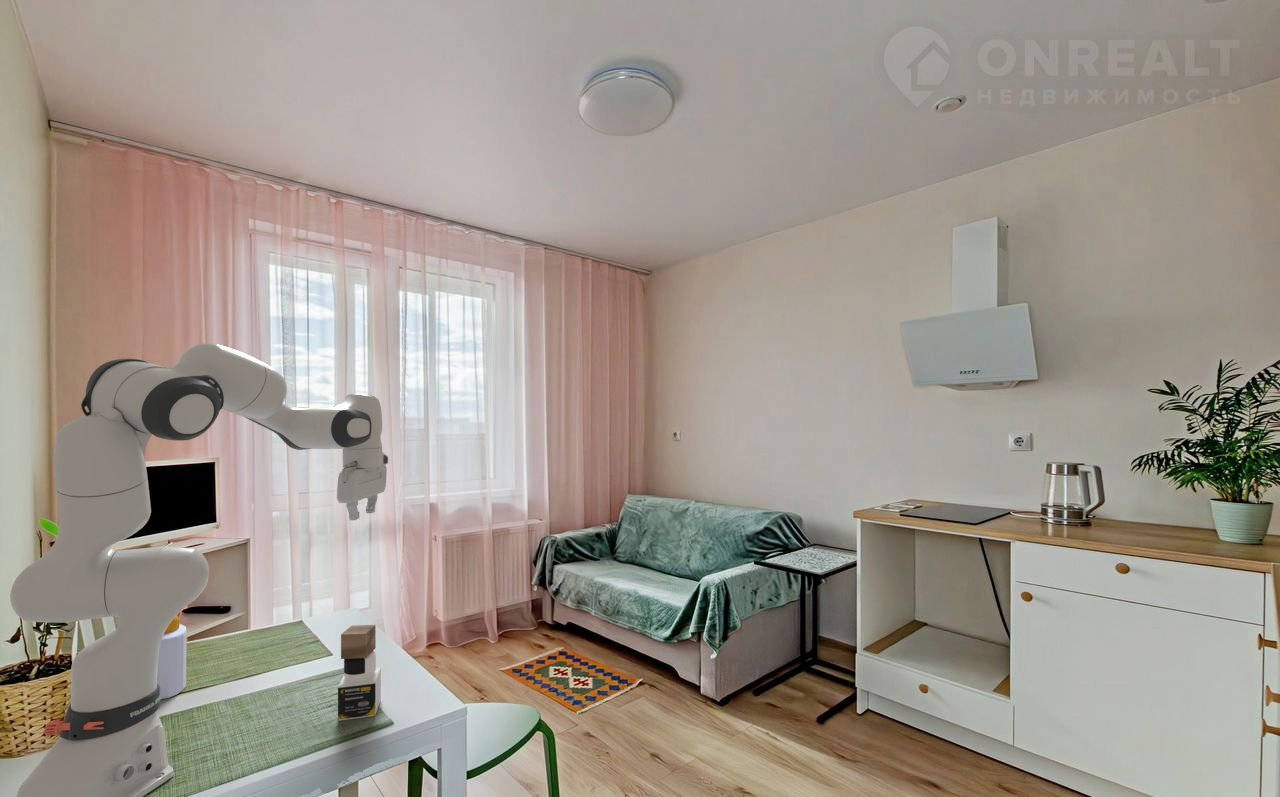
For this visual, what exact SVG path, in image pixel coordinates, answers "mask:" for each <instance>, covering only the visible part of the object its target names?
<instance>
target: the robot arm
mask: <svg viewBox="0 0 1280 797" xmlns="http://www.w3.org/2000/svg"><path fill="white" fill-rule="evenodd" d="M178 360H179V361H178V363H177V364H175V365H173V366H171V367H167V366H163V365H159V364H154V363H150V362H148V361H146V360H142V359H136V358H119V359H113V360H109V361H107V362H105V363H102V364H101V365H100V366H98V367H97V368H95V370H94V371H93V372H92V374H91V375H90V377H89V379H88V380H87V383H86V386H85V394H84V395H85V396H84V397H83V399H82V401H81V404H80V406H81V410H82V412H83V414H84V415H85V416H81V417H78V418H75V419H73V420H71V421H69V422H67V423H66V424H64V425H63V426H62V427H61V428H60V429H59V431H58V432H57V434H56V439H55V444H54V445H55V446H54V455H53V457H54V458H53V474H54V484H55V491H56V497H57V498H56V499H57V506H58V507H57V508H58V520H59V522H58V533H57V536H56V539H55V541H54V543H53V544H52V546H51V547H50V549H49V550H48V551H47V552H46V553H45V554H44V555H43V556H41V557H40V558H38V559H37V560H35V561H33V562H32V563H30V564H29V565H27V566H26V567H25V568H24V569H23V570H22V571H21V572H20V573H19V574H18V576H17V577H16V578H15V580H14V581H13V584H12V586H11V590H10V594H9V596H10V597H9V598H10V605H11V608H12V610H13V611H14V613H15V614H16V615H17V616H18V617H19V618H20V619H22V620H23V621H25V622H29V623H30V622H32V623H33V622H34V623H61V624H62V623H71V622H77V621H87V620H94V619H102V618H103V619H104V618H110V617H111V618H112V617H115V618H118V620H117V621H118V624H117V628H116V629H115V630H113V631H111V632H110V633H107V634H106V635H103V636H102V637H99V638H98V639H96V640H94V641H93V642H91V643H89V644H88V645H86V646H84V647H83V648H82V649H81V650H80V651H78V653H77V655H76V656H75V657H74V659H73V662H72V664H71V667H70V668H71V669H70V670H71V671H70V673H71V674H70V704H69V706H68V707H67V709H66V712H65V715H64V718H63V720H51V721H49V722H47V724H46V725H45V727H44V730H43V732H44V735H46V736H52V735H59V738H58V739H57V740H56V742H55V743H54V744H52V747H51V748H50V749H49V750H48V752H47V753H46V754H45V755H44V756H43V757H42V759H41V760H40V762H39V763H38V764H37V765H36V766H35V768H34V769H33V770H32V771H31V773H30V774H29V775H28V776H27V777H26V778H25V780H24V781H23V782H22V784H20V787H18V790H17V793H16V795H15V797H144V796H146V795H147V794H148V793H150V792H152V791H153V790H155V789H156V788H158V787H159V786H161V785H162V784H164V783H166V782H167V781H168V780H170V779H171V778H173V776H174V774H175V772H174V768H173V767H172V766H171V765H169V760H168V752H167V751H168V750H167V740H166V735H165V734H166V733H165V728H164V726H163V722H162V721H161V718H160V716H159V711H158V710H159V709H160V708H161V700H160V698H161V693H160V686H159V684H157V668H158V657H159V649H160V644H161V640H162V637H163V635H164V633H165V631H166V629H167V627H168V626H169V624H170V623H171V621H172V620H173V619H174V618H175V616H176V615H177V616H178V614H179V613H181V611H183V609H185V608H186V607H187V606H188V605H190V604H191V603H193V602H194V601H195V600H196V599H198V598H199V596H200V595H201V594H202V593H203V591H204V590H205V588H206V586H207V584H208V581H209V578H210V566H209V562H208V560H207V559H206V557H205V555H204V554H203V553H202V552H201V551H200V550H198V549H197V548H194V547H193V548H192V547H183V546H153V547H144V548H143V547H142V548H133V549H121V550H120V549H114V548H113V547H112V545H114V544H116V543H118V542H119V543H120V542H121V541H124V540H126V539H128V538H129V537H131V536H133V535H134V534H136V533H138V531H139V530H141V529H143V527H144V526H146V524H147V523H148V522H149V520H150V517H151V513H152V507H151V498H150V497H151V496H150V489H149V488H150V487H149V480H148V472H147V464H146V459H145V455H146V449H147V445H148V443H149V441H150V439H151V437H152V436H155V437H157V438H159V439H163V440H168V441H169V440H170V441H178V442H179V441H181V442H182V441H189V440H193V439H195V438H198V437H200V436H201V435H203V434H205V432H207V431H208V430H209V429H210V428H211V427H212V426H213V425H214V423H215V422H216V420H217V418H218V416H219V415H220V414H219V413H220V411H221V410H224V411H227V412H229V413H233V414H235V415H238V416H240V417H243V418H245V419H247V420H248V421H251V422H253V423H256V424H257V425H259V426H262V427H263V428H266V429H268V431H272V432H273V433H274V434H276V435H277V436H278V437H279V438H280V439H281V440H282V441H283V442H284V443H285V444H286V445H287V446H288V447H289V448H291V449H293V450H297V451H302V450H314V449H315V450H316V449H318V450H323V449H324V450H331V449H333V450H334V449H337V450H339V449H341V450H342V470H341V471H340V472H339V473H338V478H337V479H338V480H337V488H336V499H337V502H338V503H339V504H346V505H345V506H346V508H347V512H348V520H349V521H357V520H359V519H360V511H358V510H359V509H358V505H359V501H363V500H364V499H367V503H366V506H365V513H366V514H373V513H375V512H376V505H377V501H378V496H379V494H382V493H384V492H385V489H386V487H387V476H388V475H387V470H388V469H387V468H388V467H387V466H386V465H388V464H389V456H388V455H387V454H386V453H384V452H383V444H382V440H381V438H382V437H381V436H382V433H383V413H382V412H383V411H382V407H381V402H380V400H379V398H377V397H376V396H374V395H372V394H366V393H365V394H364V393H350V394H347V395H346V396H345V399H344V400H343V401H341V403H339V404H337V405H335V406H333V407H305V406H304V407H303V406H301V407H300V406H298V407H296V406H295V407H290V406H288V405H287V404H285V400H286V398H287V394H288V393H287V392H288V391H287V390H288V388H287V382H286V380H285V377H284V376H283V375H282V374H281V373H280V372H279V371H277V369H275V368H274V367H272V366H270V365H269V364H266V363H265V362H263V361H261V360H260V359H257V358H255V357H253V356H251V355H248V354H246V353H244V352H241V351H239V350H236V349H235V348H234V349H233V348H231V347H227V346H224V345H221V344H218V343H217V344H216V343H211V342H204V343H198V344H196V345H193V346H192V347H190V348H189V349H187V350H186V351H185V352H184V353H183V354H182V355H181V356H180V358H179V359H178ZM86 408H87V409H88V411H87V410H86Z"/></svg>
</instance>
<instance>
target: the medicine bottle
mask: <svg viewBox="0 0 1280 797" xmlns="http://www.w3.org/2000/svg"><path fill="white" fill-rule="evenodd" d="M376 663H377V654H376V651H374V650H373V651H372V652H371V653H370V654H369V655H368V656H367V657H366V658H354V659H343V676H342V678H341V680H340V682H339V684H338V686H337V721H338V722H340V721H348V720H355V719H363V718H370V717H375V716H376V715H377V711H378V709H379V705H380V702H381V701H382V699H381V698H382V688H381V687H382V675H381V674H382V670H381V669H382V668H381V667H376V666H377V664H376Z"/></svg>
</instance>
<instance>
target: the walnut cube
mask: <svg viewBox="0 0 1280 797" xmlns="http://www.w3.org/2000/svg"><path fill="white" fill-rule="evenodd" d="M376 630H377V629H376V624H364V625H363V624H362V625H361V624H358V625H353V624H352V625H350V626H348V628H347V629H346V630H344V631H343V632H342V633H341V634H340V660H344V659H354V658H366V657H367V656H368V655H369V654H370V653H371V652H372V651H374V650H376V647H377V646H376Z"/></svg>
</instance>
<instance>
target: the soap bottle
mask: <svg viewBox="0 0 1280 797" xmlns="http://www.w3.org/2000/svg"><path fill="white" fill-rule="evenodd" d="M187 633H188V632H187V627H186V626H185V625H184V624H183V623H182V624H181V623H180V618H179V616H178V614H177V615H176V616H175V618H174V619H173V620H172V621H171V623H170V624H169V626H168V627H167V629H166V631H165V633H164V635H163V637H162V640H161V644H160V649H159V657H158V668H157V684H159V686H160V693H161V698H160V701H161V700H165V699H170V698H172V697H174V696H177V695H178V694H179V693H182V692H183V691H184V689H185V688H186V686H187V648H188V647H187V641H188V640H187V638H188V637H187V636H188V634H187Z"/></svg>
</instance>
